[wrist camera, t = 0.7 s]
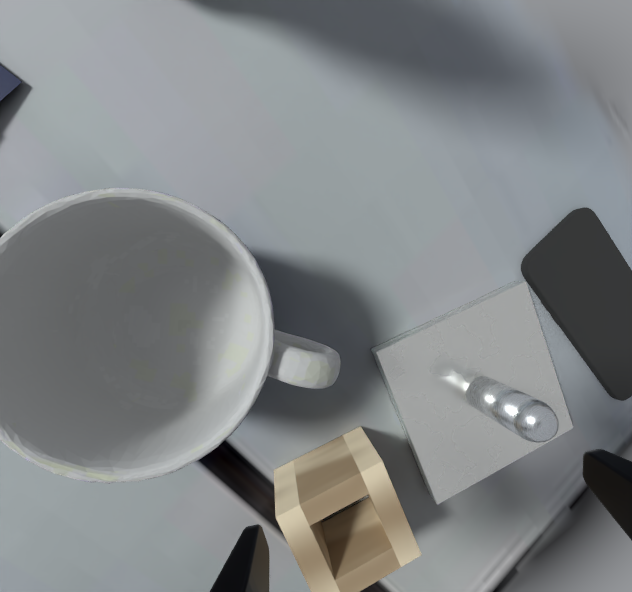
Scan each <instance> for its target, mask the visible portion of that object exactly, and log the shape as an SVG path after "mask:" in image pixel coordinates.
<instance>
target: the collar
mask: <svg viewBox="0 0 632 592" xmlns="http://www.w3.org/2000/svg"><path fill="white" fill-rule="evenodd" d="M274 484H275V512H276V519H277V521H278V523H279V525H280V527H281V530H282V532H283V534H284V536H285V538H286V540H287V542H288V544H289V546H290V548H291V550H292V553H293V555H294V557H295V559H296V561H297V563H298V565H299V567H300V569H301V571H302V573H303V576H304V578H305V580H306V582H307V584H308V586H309V588H310V590H311V592H359V591H361V590H363V589H364V588H366V587H368V586H370V585H371V584H373V583H375V582H376V581H378V580H380V579H382V578H383V577H385V576H387V575H388V574H390V573H392V572H394V571H395V570H397V569H399V568H400V567H402V566H404V565H406V564H407V563H409V562H411V561H412V560H414V559H416V558H417V557H419V556H421V552H420V550H419V547H418V545H417V543H416V540H415V538H414V535H413V533H412V531H411V528H410V526H409V523H408V521H407V519H406V516H405V514H404V511H403V509H402V507H401V504H400V502H399V499H398V497H397V495H396V492H395V490H394V487H393V485H392V483H391V480H390V478H389V475H388V473H387V471H386V468H385V466H384V463H383V461H382V459H381V458H380V456H379V455H378V453H377V451H376V450H375V448H374V447H373V445H372V444H371V442H370V440H369V439H368V437H367V436H366V434H365V433H364V431H363V429H362V428H361V426H360V427H358V428H356V429H354V430H352V431H350V432H348V433H346V434H344V435H342V436H340V437H338V438H336V439H334V440H332V441H330V442H328V443H326V444H324V445H322V446H320V447H318V448H316V449H315V450H313V451H311V452H309V453H307V454H305V455H303V456H301V457H299V458H297V459H295V460H293V461H291V462H289V463H287V464H285V465H283V466H281V467H279V468H277V469H275V470H274ZM366 495H368V496H369V498H367V499H365V500H363V501H361V502H359V503H358V504H356V505H354V506H352V507H350V508H348V509H347V510H345V511H343V512H341V513H339V514H337V515H335V516H334V517H332V518H330V519H328V520H326V521H324V522H323V523H322V522H321V520H322V519H324V518H325V517H327V516H329V515H331V514H333V513H335V512H336V511H338V510H340V509H342V508H344V507H346V506H348V505H349V504H351V503H353V502H355V501H357V500H359V499H361V498H362V497H364V496H366Z"/></svg>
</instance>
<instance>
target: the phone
mask: <svg viewBox="0 0 632 592" xmlns="http://www.w3.org/2000/svg"><path fill="white" fill-rule="evenodd" d="M521 271H522V274H523V276H524V278H525V280H526V281H527V282H528V284H529V285H530V287H531V288H532V289H533V291H534V292H535V293H536V295H537V296H538V298H539V299H540V300H541V302H542V304H543V305H544V307H545V308H546V309H547V311H549V313H550V314H551V316H552V318H553V319H554V320H555V322H556V323H557V324H558V325H559V327H560V328H561V329H562V331H563V332H564V333H565V335H566V336H567V338H568V339H569V340H570V342H571V343H572V344H573V346H574V347H575V349H576V350H577V351H578V353H579V354H580V355H581V357H582V358H583V360H584V361H585V362H586V364H587V365H588V366H589V368H590V369H591V371H592V372H593V373H594V375H595V376H596V377H597V379H598V380H599V382H600V383H601V384H602V386H603V387H604V388H605V390H606V391H607V393H608V394H609V395H610V396H611V397H613V398H615V399H618V400H626V399H628V398H630V397H631V396H632V270H631V269H630V267H629V266H628V264H627V262H626V261H625V259H624V258H623V256H622V255H621V253H620V251H619V250H618V248H617V247H616V245H615V244H614V242H613V240H612V239H611V237H610V236H609V234H608V233H607V231H606V229H605V228H604V226H603V225H602V223H601V222H600V220H599V219H598V217H597V216H596V214H595V213H594V212H593V211H592V210H591V209H589V208H580V209H576V210H574V211H572V212H571V213H569V214H568V215H567V216H566V217H565V218H564V219H563V220H562V221H561V222H560V223H559V224H558V225H557V226H556V227H555V228H554V229H553V230H551V231H550V232H549V233H548V234H547V235H546V236H545V237H544V238H543V239H542V240H541V241H540V242H539V243H538V244H537V245H536V246H535V247H534V248H533V249H532V250H531V251H530V252H529V253H528V254H527V255H526V256H525V257H524V259H523V261H522V264H521Z"/></svg>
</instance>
